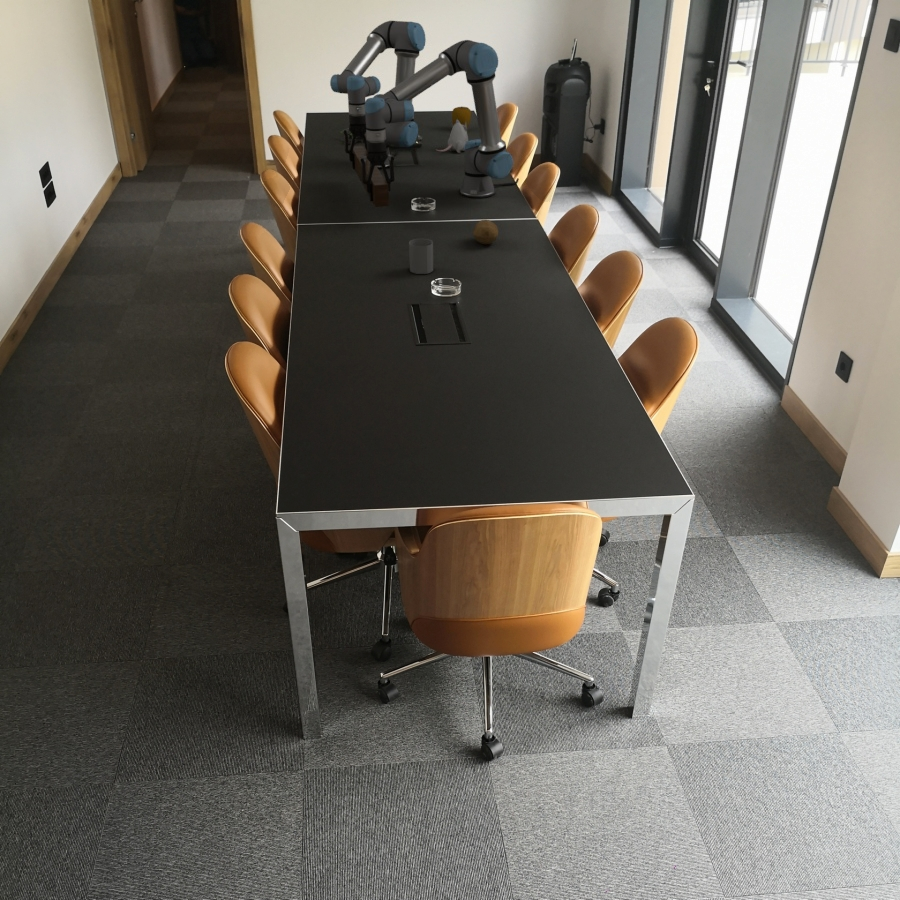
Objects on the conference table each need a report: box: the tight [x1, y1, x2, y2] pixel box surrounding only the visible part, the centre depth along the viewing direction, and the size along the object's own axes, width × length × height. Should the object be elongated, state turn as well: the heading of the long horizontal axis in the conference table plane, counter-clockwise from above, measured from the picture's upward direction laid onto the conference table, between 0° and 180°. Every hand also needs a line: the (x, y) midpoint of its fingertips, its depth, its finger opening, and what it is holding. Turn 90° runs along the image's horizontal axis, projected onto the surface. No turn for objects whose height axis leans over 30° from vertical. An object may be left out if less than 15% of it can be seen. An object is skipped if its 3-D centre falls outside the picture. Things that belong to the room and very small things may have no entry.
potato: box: [472, 219, 499, 245], centre depth 330 cm, size 10×14×8 cm
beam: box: [353, 145, 390, 208], centre depth 369 cm, size 65×6×9 cm, turn 14°
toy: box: [436, 120, 469, 154], centre depth 444 cm, size 9×24×15 cm, turn 137°
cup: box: [408, 237, 434, 275], centre depth 305 cm, size 8×8×10 cm
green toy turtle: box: [338, 130, 363, 145], centre depth 467 cm, size 6×13×30 cm
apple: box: [451, 105, 472, 129], centre depth 487 cm, size 11×11×13 cm
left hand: (360, 168), depth 391 cm, fingers closed on beam, 5 cm apart
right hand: (379, 199), depth 350 cm, fingers closed on beam, 5 cm apart
